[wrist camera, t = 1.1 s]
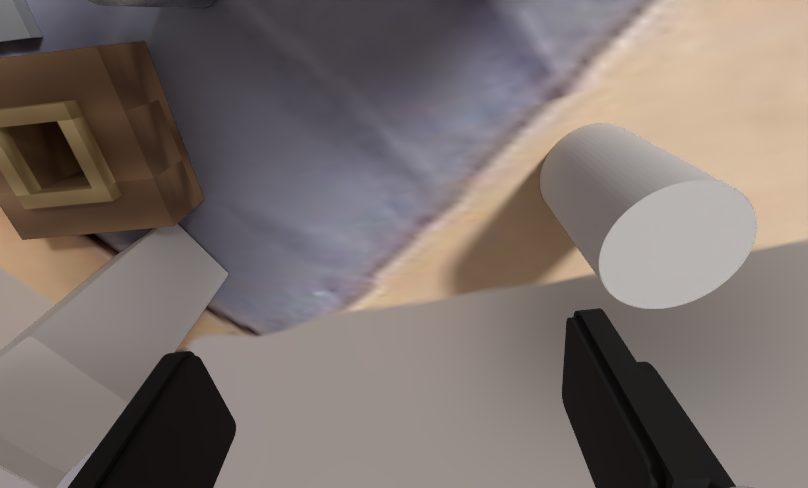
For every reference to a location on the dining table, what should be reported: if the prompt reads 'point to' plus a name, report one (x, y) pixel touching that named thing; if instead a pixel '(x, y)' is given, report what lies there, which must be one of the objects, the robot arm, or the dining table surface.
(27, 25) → the peg rack
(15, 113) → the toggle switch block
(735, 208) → the light grey cylinder
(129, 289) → the milk carton
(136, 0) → the pin
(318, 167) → the dining table surface
